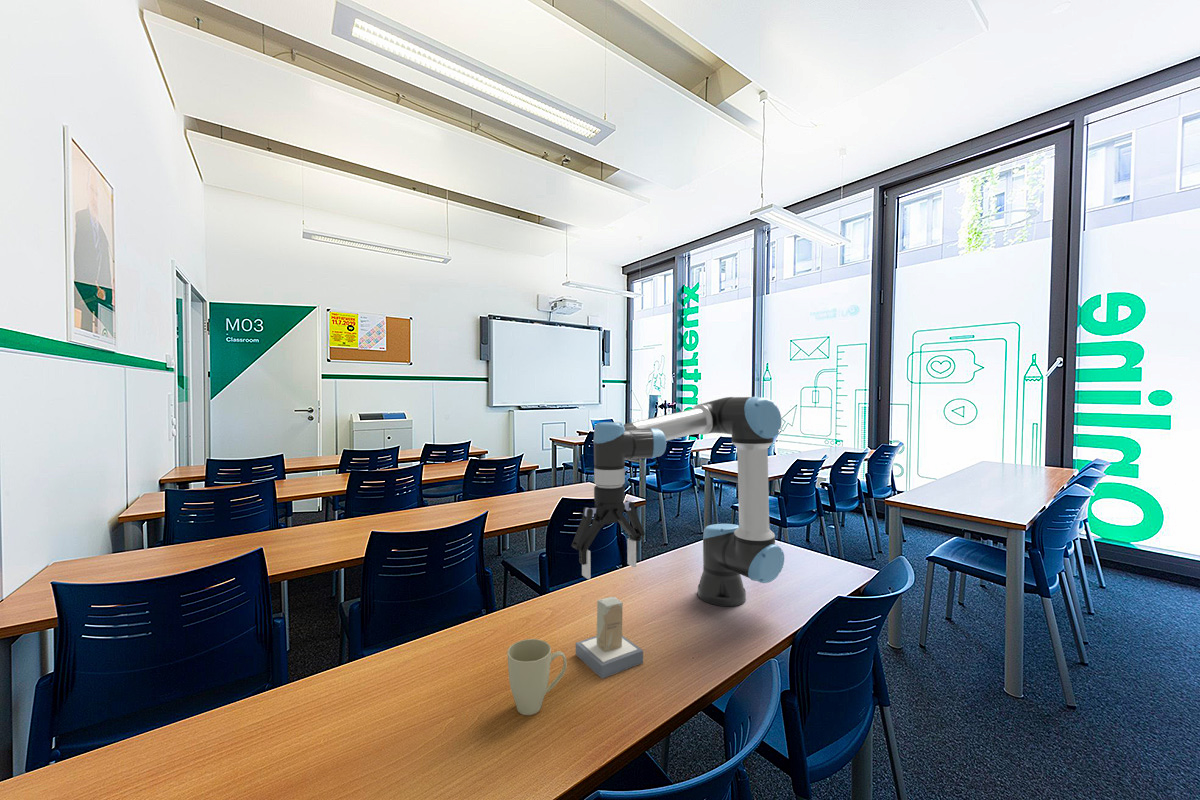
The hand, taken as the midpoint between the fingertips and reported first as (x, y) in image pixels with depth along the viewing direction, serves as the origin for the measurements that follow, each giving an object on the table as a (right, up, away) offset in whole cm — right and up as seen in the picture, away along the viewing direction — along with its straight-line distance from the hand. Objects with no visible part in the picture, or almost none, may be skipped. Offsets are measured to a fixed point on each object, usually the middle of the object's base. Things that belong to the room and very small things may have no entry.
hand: (609, 571), depth 115 cm
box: (0, -19, 0) cm, 19 cm away
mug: (-16, -22, -18) cm, 32 cm away
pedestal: (0, -22, 0) cm, 22 cm away
